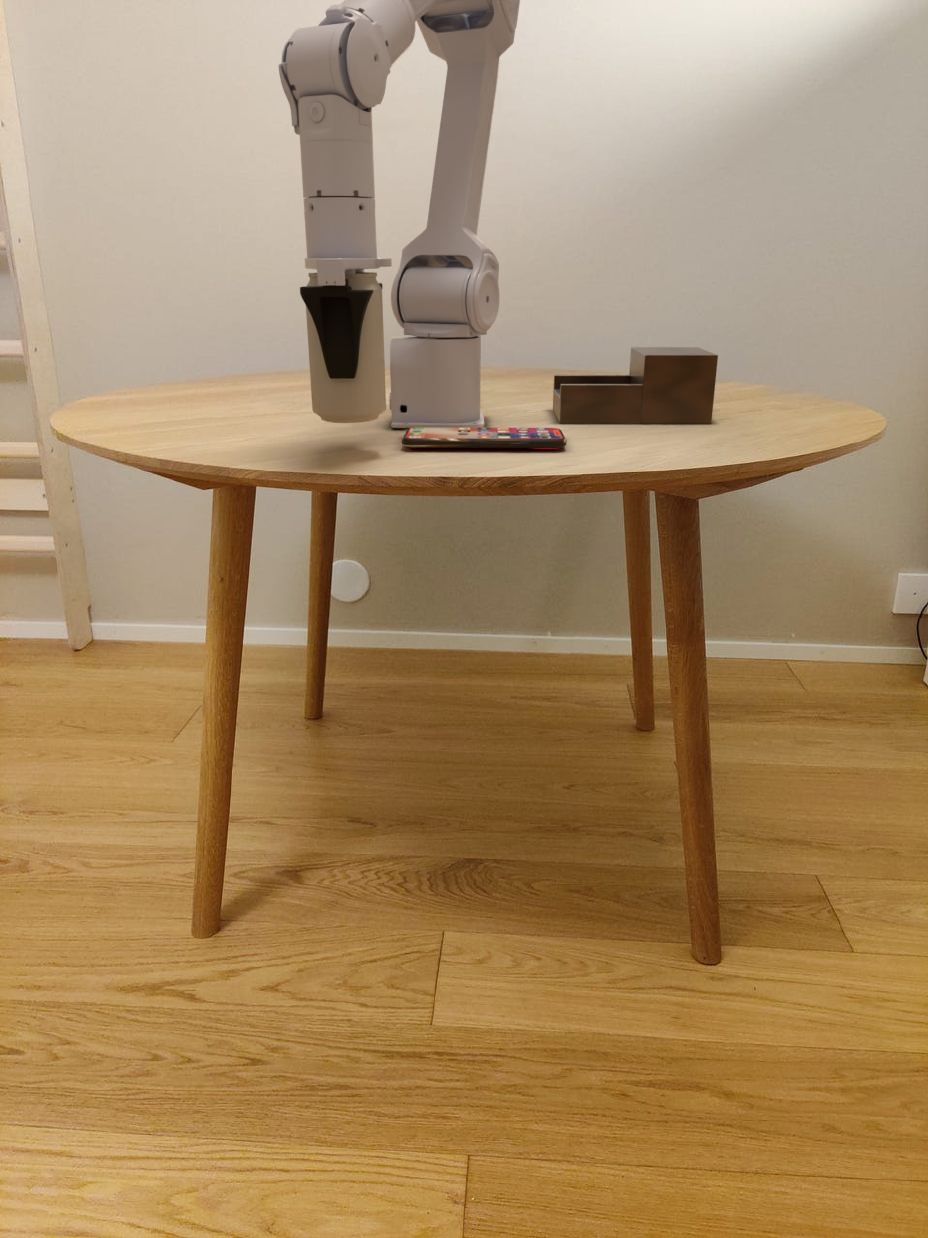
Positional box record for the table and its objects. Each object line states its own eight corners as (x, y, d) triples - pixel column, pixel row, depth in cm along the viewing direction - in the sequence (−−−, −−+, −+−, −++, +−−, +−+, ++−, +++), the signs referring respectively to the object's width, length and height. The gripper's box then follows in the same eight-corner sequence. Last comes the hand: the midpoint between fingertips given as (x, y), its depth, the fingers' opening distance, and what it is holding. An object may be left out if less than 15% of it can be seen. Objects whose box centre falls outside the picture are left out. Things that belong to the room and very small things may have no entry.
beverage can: (397, 414, 82) (393, 270, 78) (367, 426, 77) (361, 272, 72) (333, 410, 84) (325, 270, 80) (299, 422, 78) (289, 271, 74)
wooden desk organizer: (559, 423, 97) (562, 354, 95) (552, 410, 105) (554, 346, 103) (711, 423, 97) (718, 355, 94) (692, 410, 105) (698, 347, 103)
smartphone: (406, 426, 90) (561, 426, 89) (406, 436, 90) (560, 436, 90) (400, 439, 83) (567, 439, 82) (400, 449, 83) (567, 450, 83)
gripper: (380, 193, 67) (386, 384, 72) (396, 203, 81) (400, 363, 86) (284, 193, 67) (297, 384, 72) (315, 203, 81) (324, 363, 86)
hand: (347, 373), depth 79 cm, fingers closed on beverage can, 6 cm apart
